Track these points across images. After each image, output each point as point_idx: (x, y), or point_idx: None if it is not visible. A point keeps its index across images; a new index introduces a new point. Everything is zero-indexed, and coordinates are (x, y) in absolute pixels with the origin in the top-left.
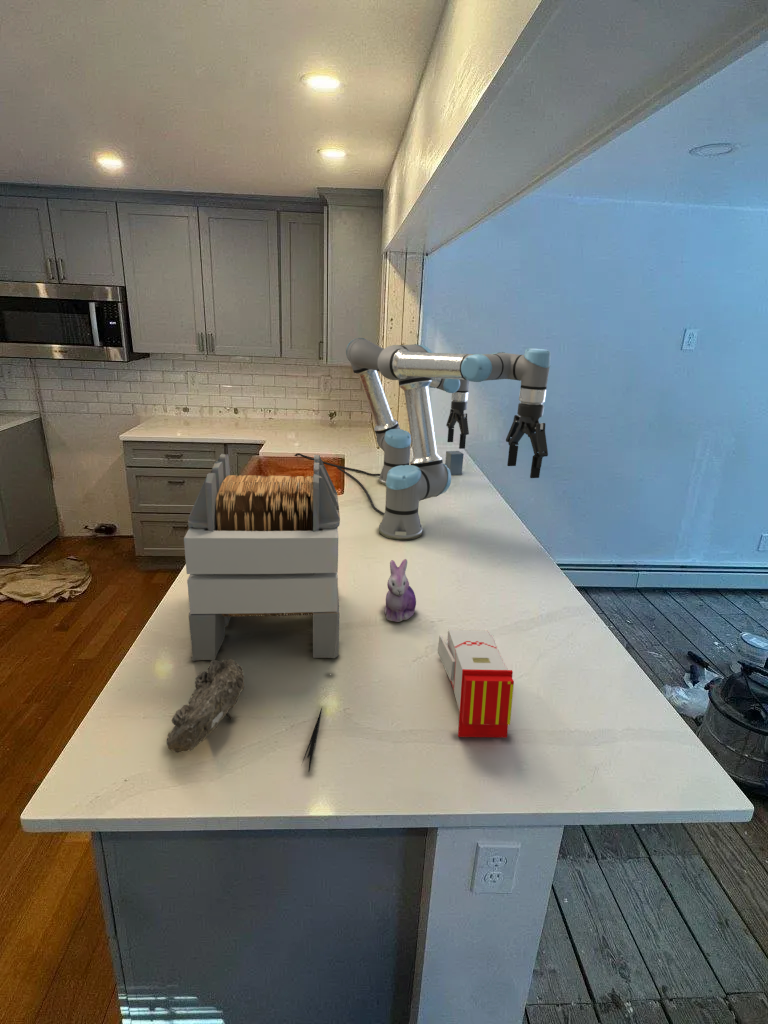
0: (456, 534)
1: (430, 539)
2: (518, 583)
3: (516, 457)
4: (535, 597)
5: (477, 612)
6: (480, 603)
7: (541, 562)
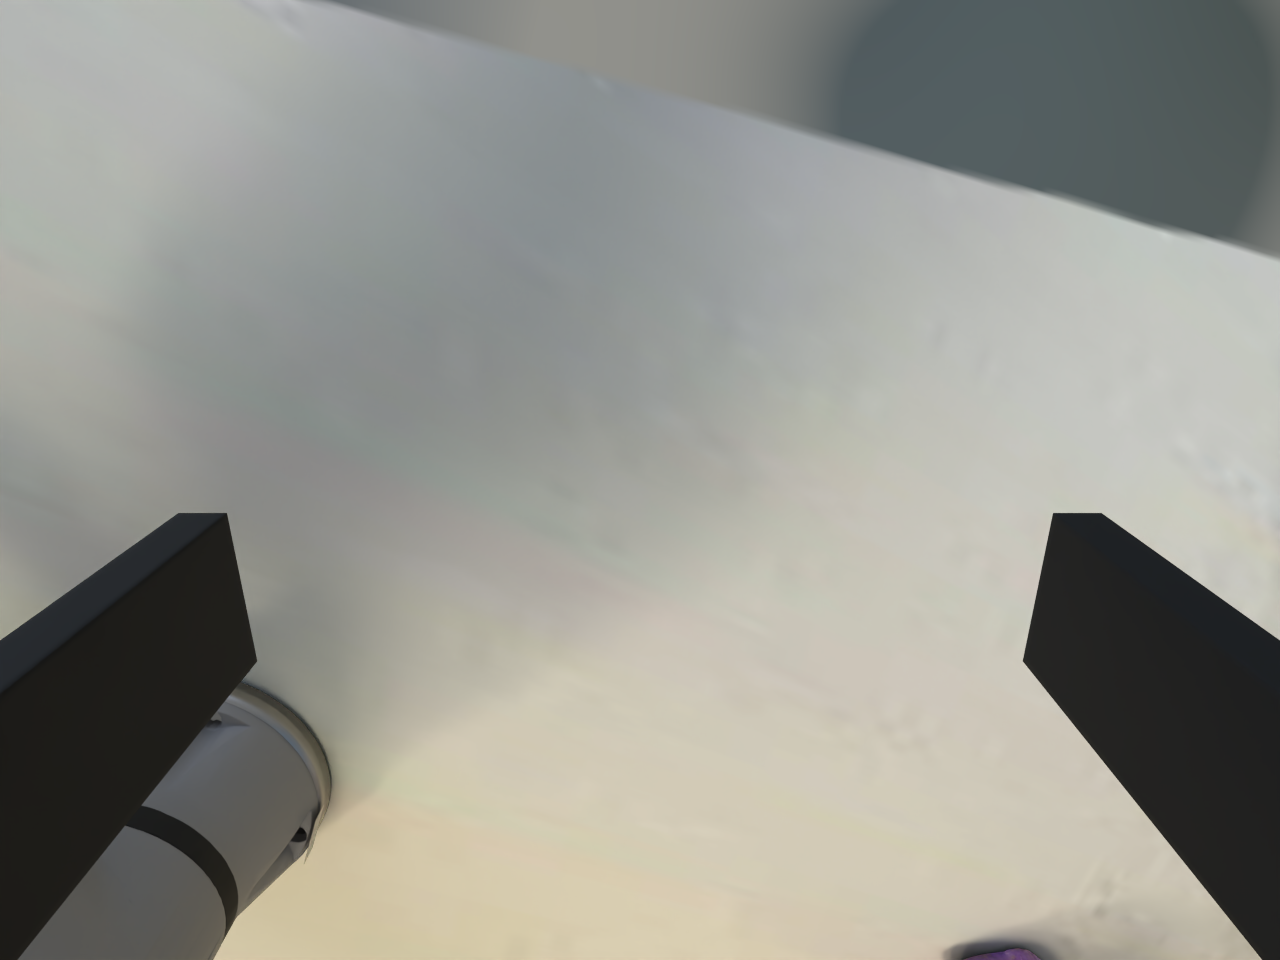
0: (251, 493)
1: (322, 662)
2: (969, 460)
3: (113, 611)
4: (1132, 456)
5: None
6: (1063, 714)
7: (773, 158)
